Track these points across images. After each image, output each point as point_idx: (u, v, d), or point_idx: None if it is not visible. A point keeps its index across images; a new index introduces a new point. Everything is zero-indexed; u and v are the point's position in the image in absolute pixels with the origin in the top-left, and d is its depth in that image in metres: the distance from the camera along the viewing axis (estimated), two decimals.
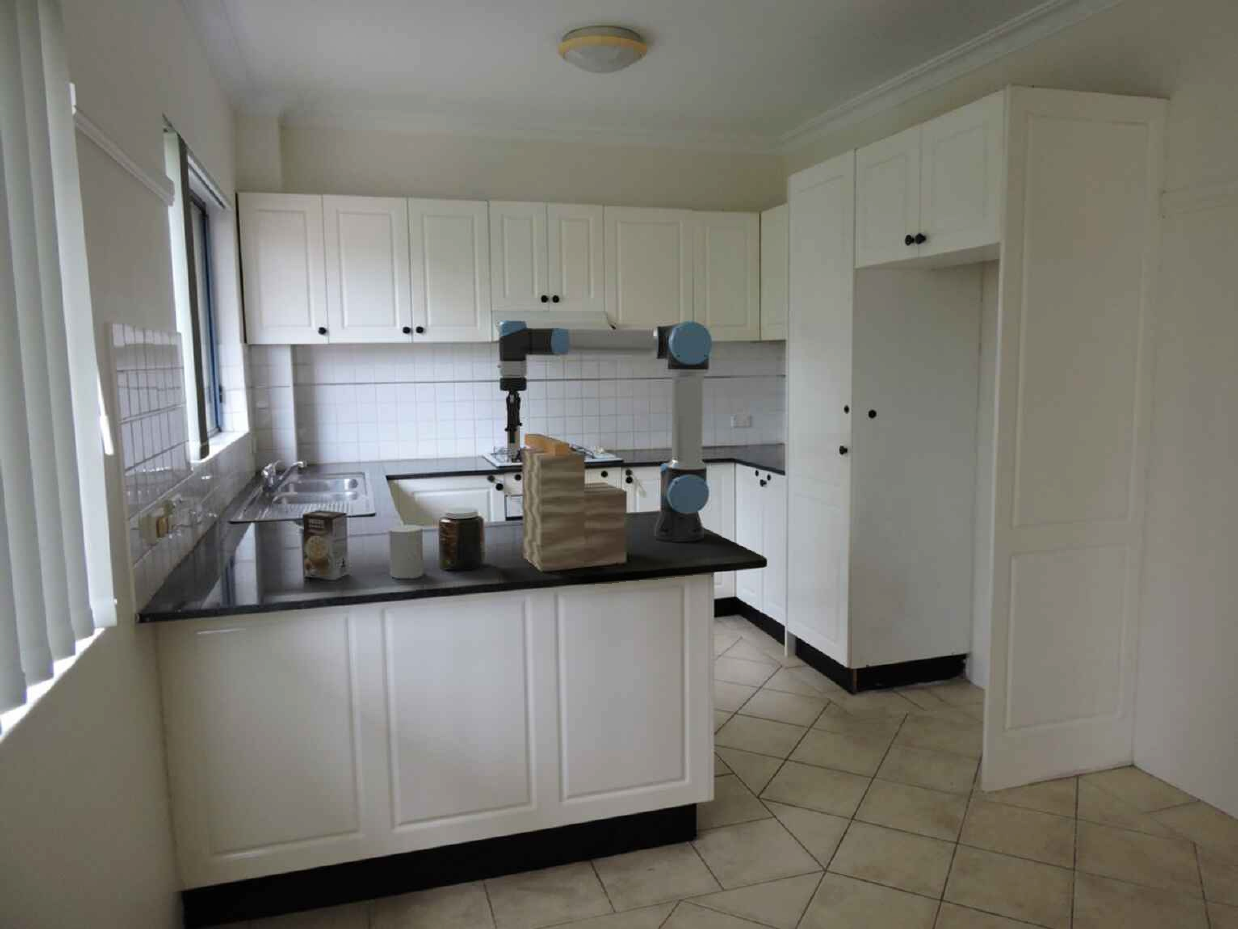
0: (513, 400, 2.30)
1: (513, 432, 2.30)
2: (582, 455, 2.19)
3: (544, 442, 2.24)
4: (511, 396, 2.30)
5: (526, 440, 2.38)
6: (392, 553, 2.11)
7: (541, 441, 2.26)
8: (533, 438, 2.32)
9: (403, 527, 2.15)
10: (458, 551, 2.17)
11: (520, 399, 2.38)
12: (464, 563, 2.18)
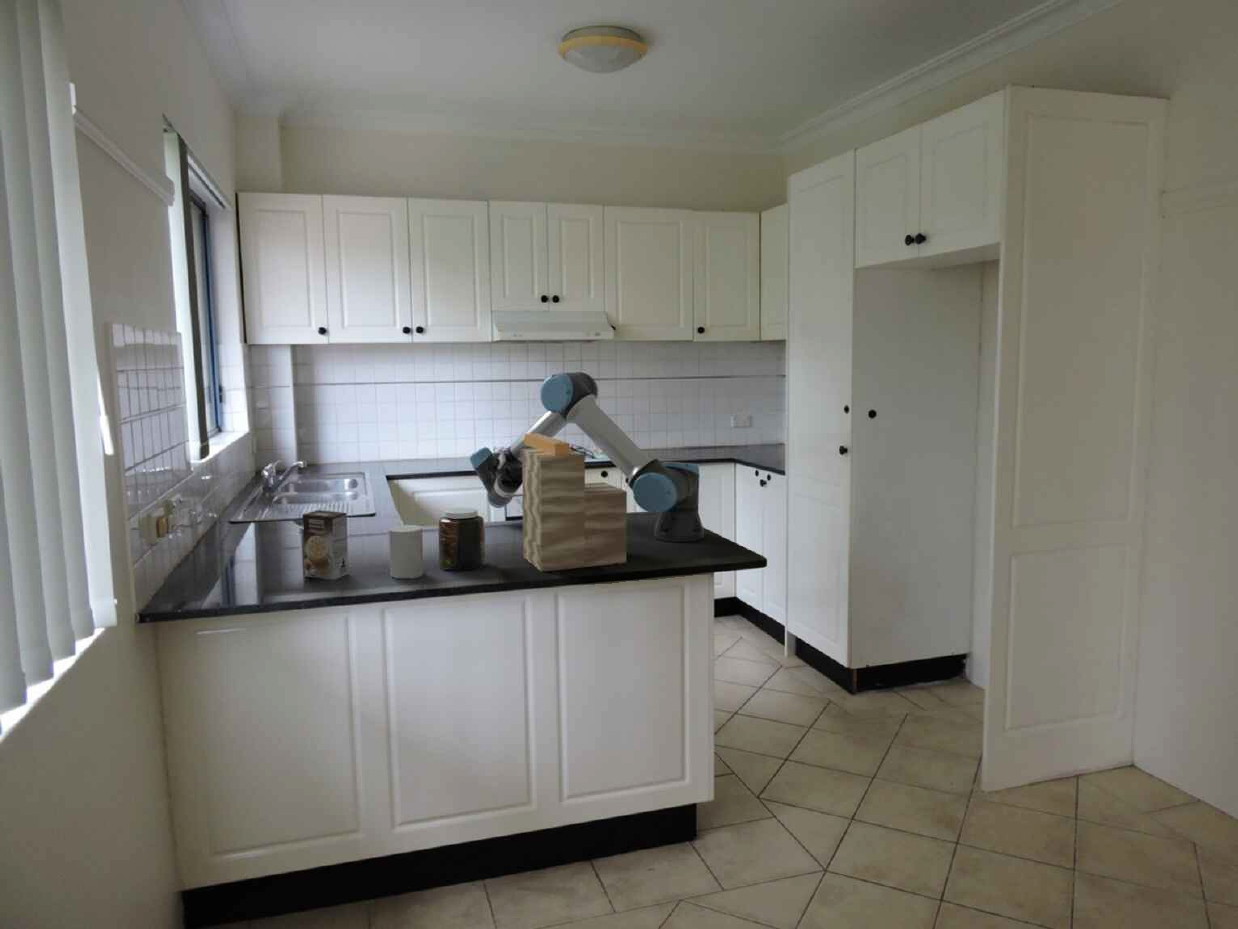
0: None
1: (492, 463, 2.48)
2: (582, 455, 2.19)
3: (544, 442, 2.24)
4: None
5: (526, 440, 2.38)
6: (392, 553, 2.11)
7: (541, 441, 2.26)
8: (533, 438, 2.32)
9: (403, 527, 2.15)
10: (458, 551, 2.17)
11: (515, 468, 2.60)
12: (464, 563, 2.18)
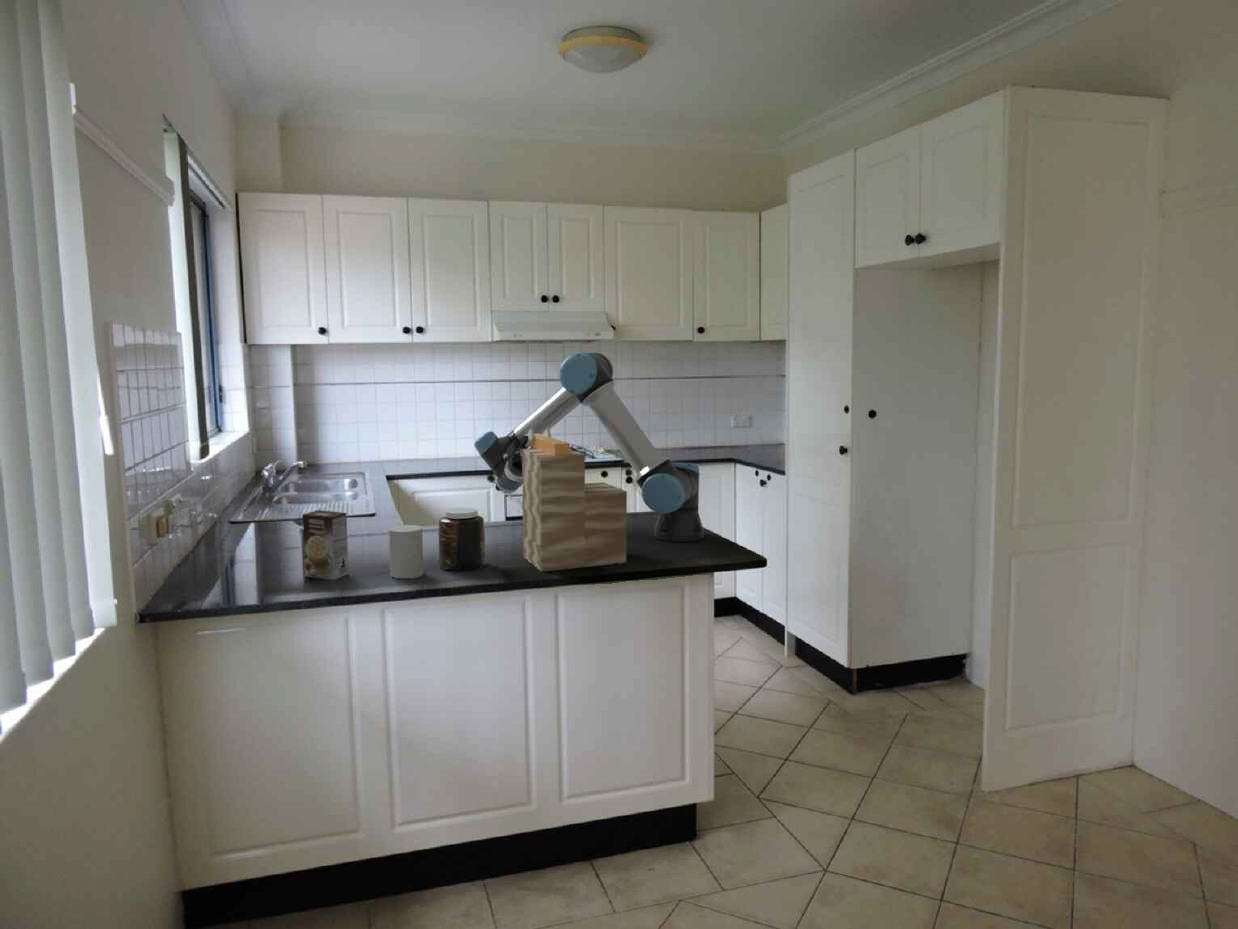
0: (505, 454, 2.43)
1: (521, 441, 2.36)
2: (582, 455, 2.19)
3: (544, 442, 2.24)
4: (503, 457, 2.44)
5: None
6: (392, 553, 2.11)
7: (541, 441, 2.26)
8: None
9: (403, 527, 2.15)
10: (458, 551, 2.17)
11: None
12: (464, 563, 2.18)
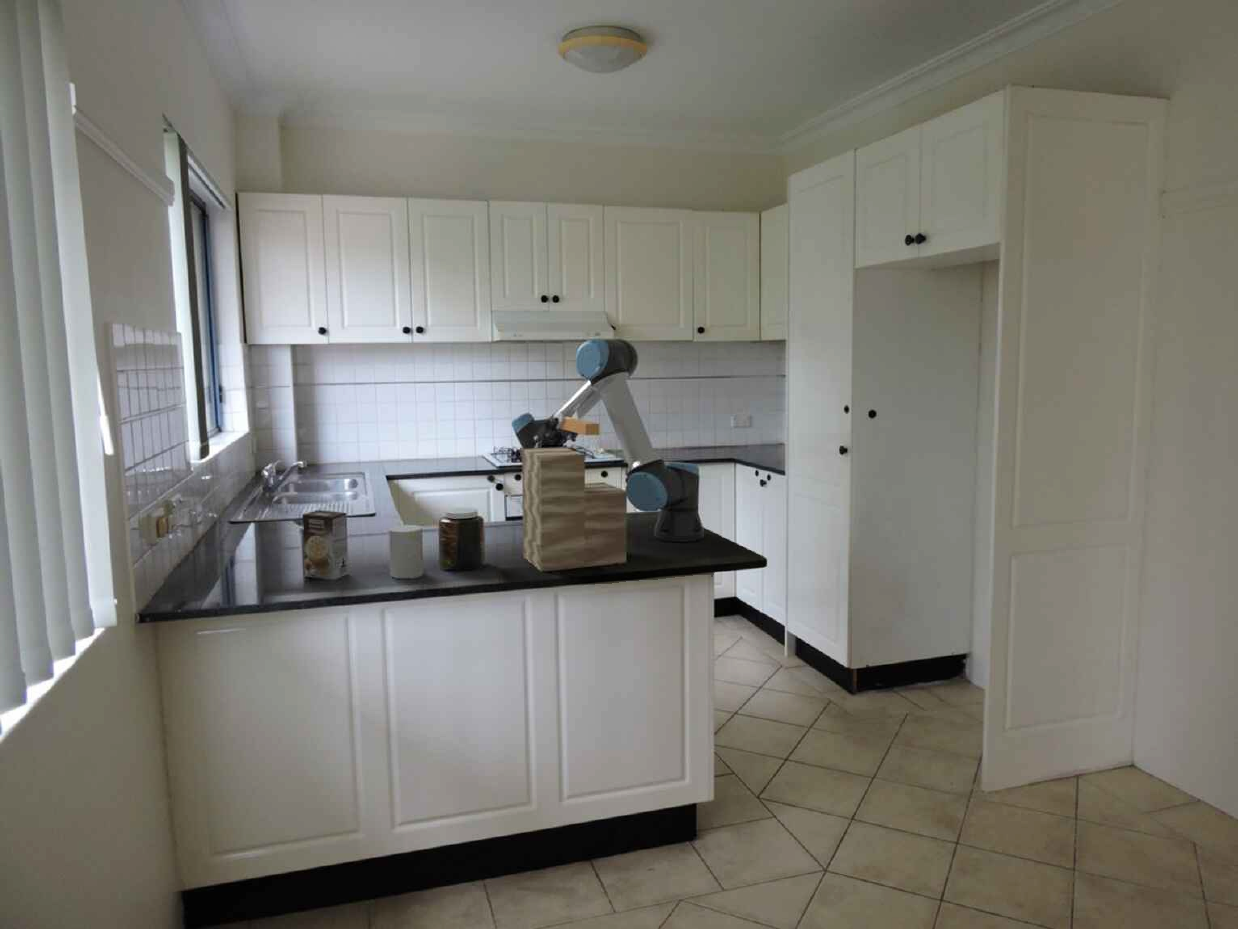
0: (536, 436, 2.55)
1: (551, 423, 2.48)
2: (582, 455, 2.19)
3: (574, 423, 2.35)
4: (534, 439, 2.55)
5: None
6: (392, 553, 2.11)
7: (571, 422, 2.38)
8: None
9: (403, 527, 2.15)
10: (458, 551, 2.17)
11: None
12: (464, 563, 2.18)
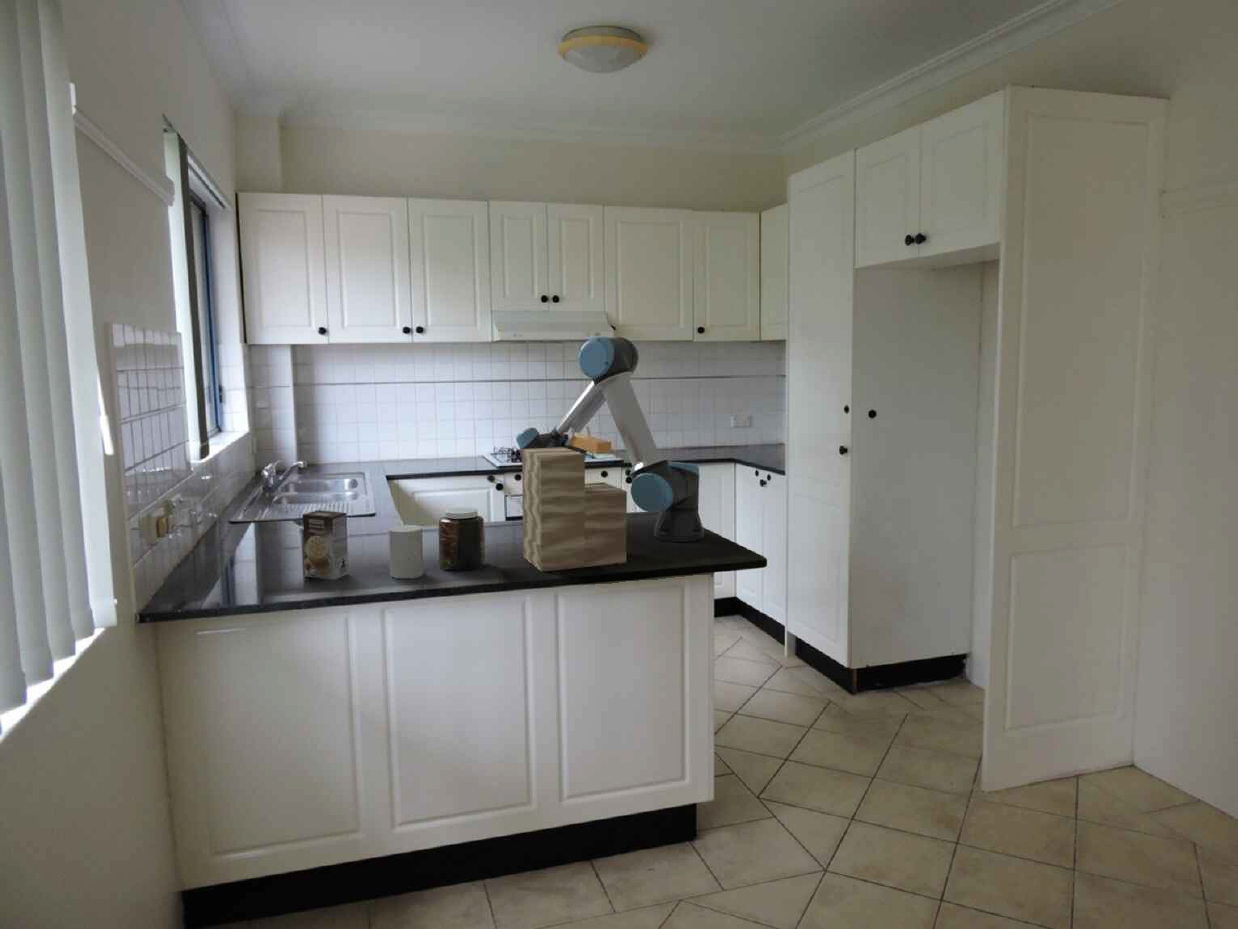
0: None
1: (560, 439, 2.41)
2: (582, 455, 2.19)
3: (585, 441, 2.29)
4: None
5: None
6: (392, 553, 2.11)
7: (582, 440, 2.31)
8: None
9: (403, 527, 2.15)
10: (458, 551, 2.17)
11: None
12: (464, 563, 2.18)
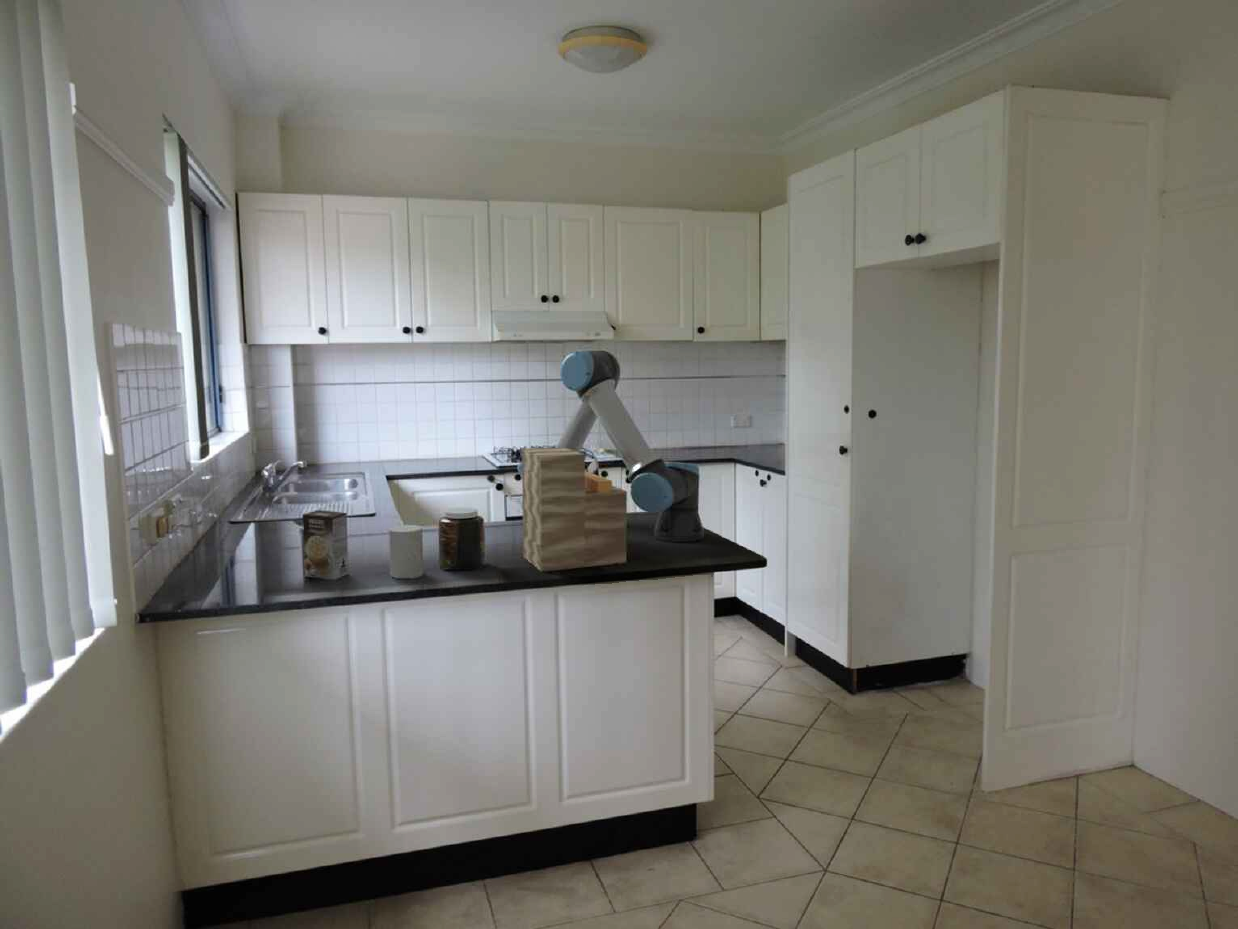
0: None
1: None
2: (582, 455, 2.19)
3: (586, 479, 2.30)
4: None
5: None
6: (392, 553, 2.11)
7: None
8: None
9: (403, 527, 2.15)
10: (458, 551, 2.17)
11: None
12: (464, 563, 2.18)
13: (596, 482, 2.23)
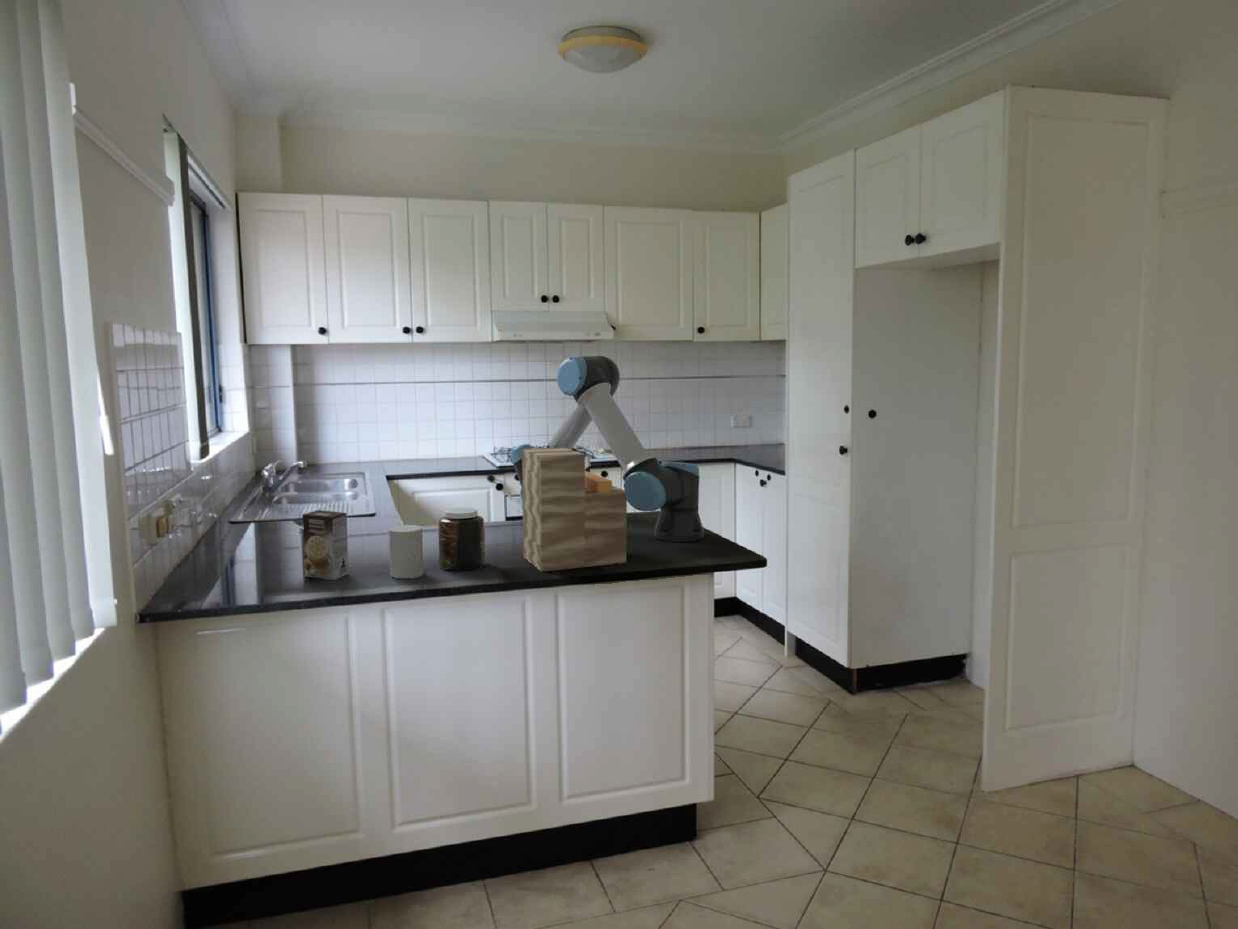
0: None
1: None
2: (582, 455, 2.19)
3: (586, 479, 2.30)
4: None
5: None
6: (392, 553, 2.11)
7: None
8: None
9: (403, 527, 2.15)
10: (458, 551, 2.17)
11: None
12: (464, 563, 2.18)
13: (596, 482, 2.23)
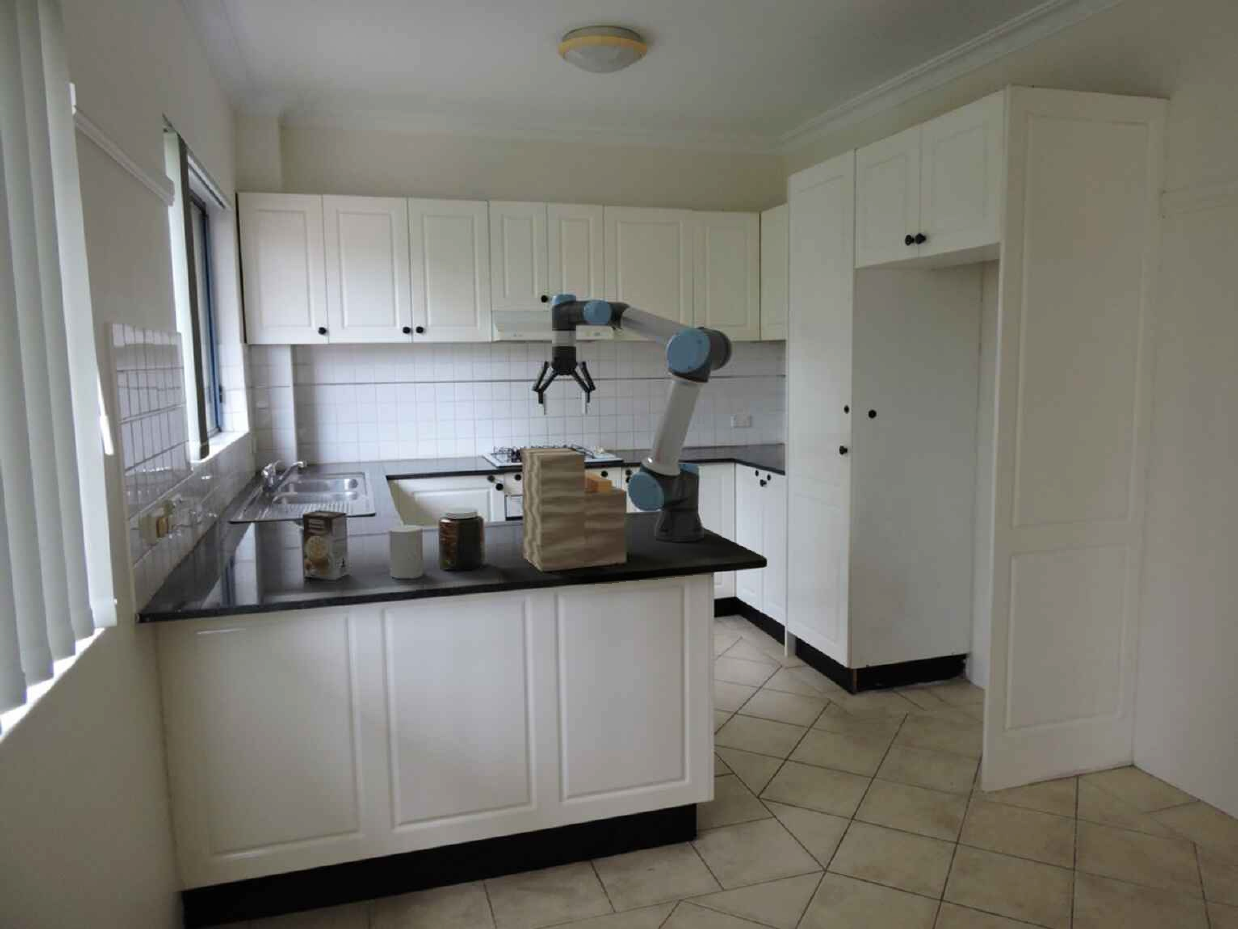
0: (543, 365, 2.59)
1: (538, 394, 2.59)
2: (582, 455, 2.19)
3: (586, 479, 2.30)
4: (543, 362, 2.59)
5: None
6: (392, 553, 2.11)
7: None
8: None
9: (403, 527, 2.15)
10: (458, 551, 2.17)
11: (568, 366, 2.60)
12: (464, 563, 2.18)
13: (596, 482, 2.23)
